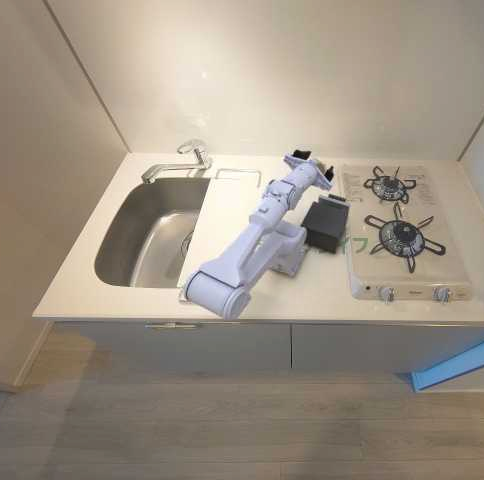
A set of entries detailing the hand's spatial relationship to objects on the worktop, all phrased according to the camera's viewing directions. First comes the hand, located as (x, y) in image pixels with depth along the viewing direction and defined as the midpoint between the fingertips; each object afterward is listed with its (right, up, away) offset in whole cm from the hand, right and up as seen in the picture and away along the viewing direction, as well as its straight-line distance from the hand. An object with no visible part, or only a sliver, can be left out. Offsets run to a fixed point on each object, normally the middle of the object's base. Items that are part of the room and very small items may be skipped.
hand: (320, 161), depth 75 cm
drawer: (+4, -15, +14) cm, 21 cm away
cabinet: (+2, -21, +11) cm, 24 cm away
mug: (-1, +4, +28) cm, 29 cm away
